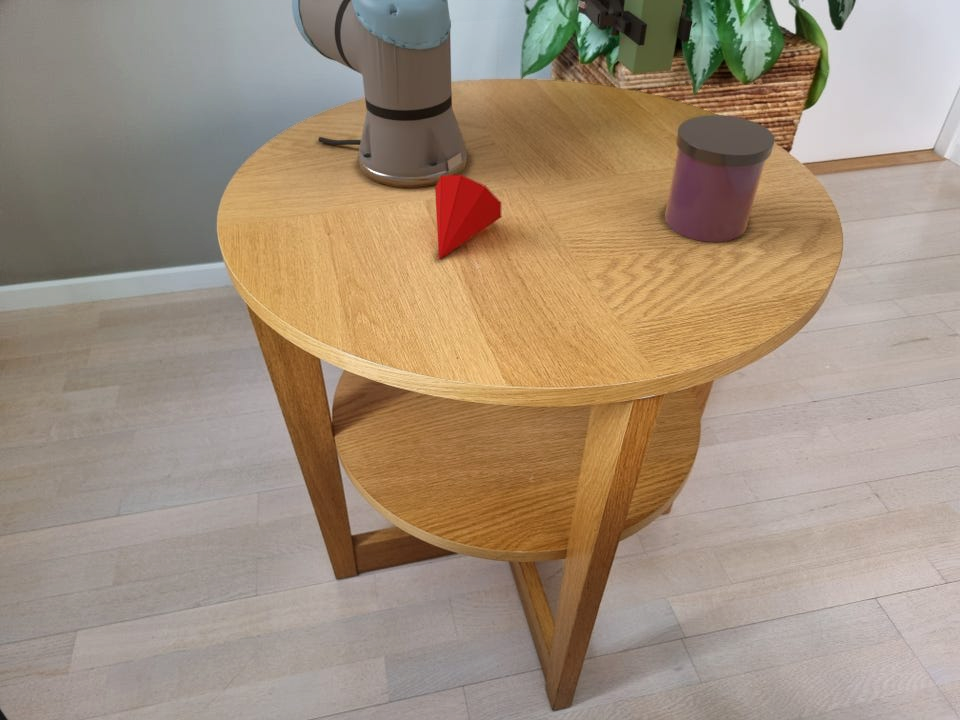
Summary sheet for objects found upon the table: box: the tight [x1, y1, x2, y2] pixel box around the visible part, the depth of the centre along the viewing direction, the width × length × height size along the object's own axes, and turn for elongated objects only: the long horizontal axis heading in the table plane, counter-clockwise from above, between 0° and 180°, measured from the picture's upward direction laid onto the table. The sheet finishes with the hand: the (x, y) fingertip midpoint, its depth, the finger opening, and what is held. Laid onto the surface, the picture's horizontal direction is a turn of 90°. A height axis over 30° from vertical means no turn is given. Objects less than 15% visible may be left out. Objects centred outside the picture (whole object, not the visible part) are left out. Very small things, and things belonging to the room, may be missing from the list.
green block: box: [616, 0, 684, 75], centre depth 100 cm, size 6×6×10 cm
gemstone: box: [434, 174, 502, 260], centre depth 83 cm, size 9×9×10 cm
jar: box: [664, 114, 776, 243], centre depth 84 cm, size 11×11×11 cm
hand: (665, 33), depth 96 cm, fingers closed on green block, 6 cm apart
